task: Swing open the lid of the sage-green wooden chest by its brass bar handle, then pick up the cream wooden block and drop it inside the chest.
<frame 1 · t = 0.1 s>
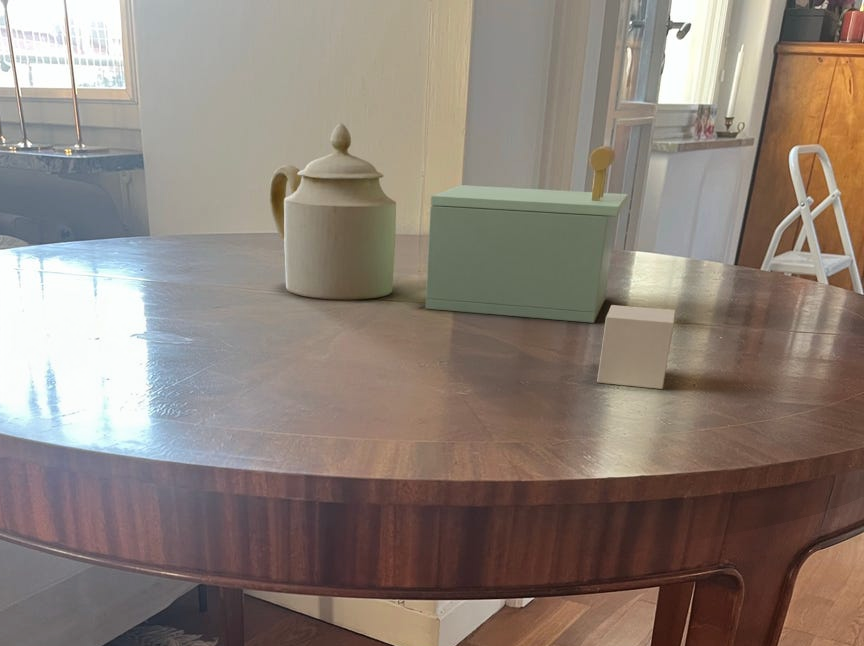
sugar bowl: (322, 290, 98), on the table
block: (631, 378, 70), on the table
chest: (518, 303, 94), on the table
chest lid: (535, 174, 88), point 11 cm above the table, hinge at 0.0°
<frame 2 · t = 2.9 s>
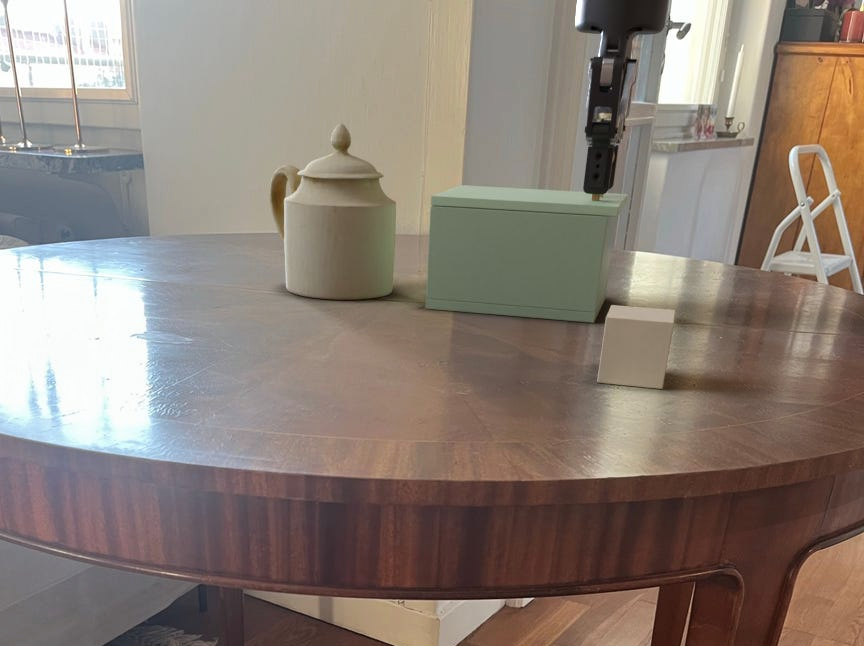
hand: (598, 190, 87), 10 cm above the table, tool pointing down, fingers closed on chest lid, 5 cm apart
chest lid: (535, 174, 88), point 11 cm above the table, hinge at 0.0°, touching gripper
everything else where it was.
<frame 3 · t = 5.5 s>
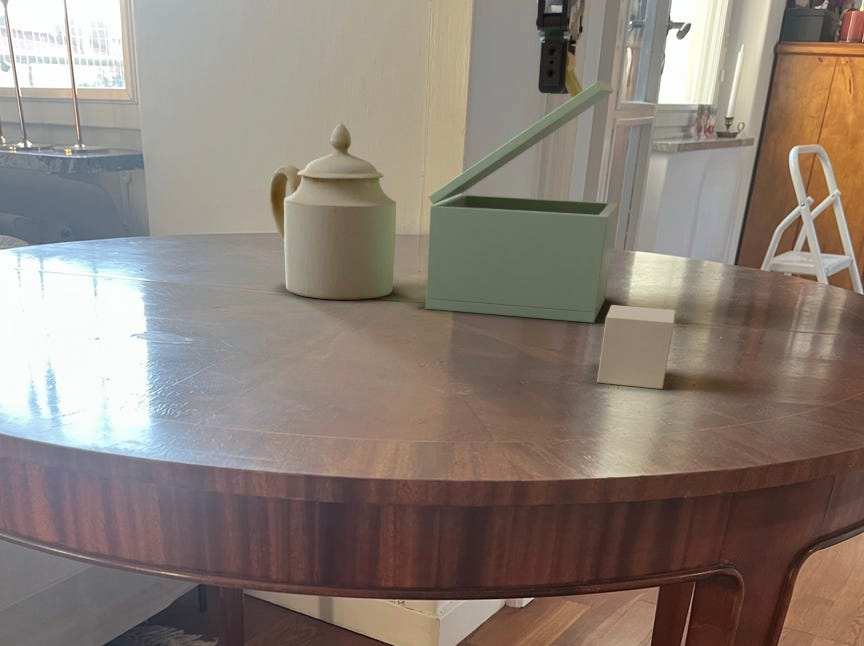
hand: (555, 92, 84), 18 cm above the table, tool pointing down, fingers closed on chest lid, 5 cm apart
chest lid: (511, 120, 86), point 16 cm above the table, hinge at 34.0°, touching gripper
everything else where it was.
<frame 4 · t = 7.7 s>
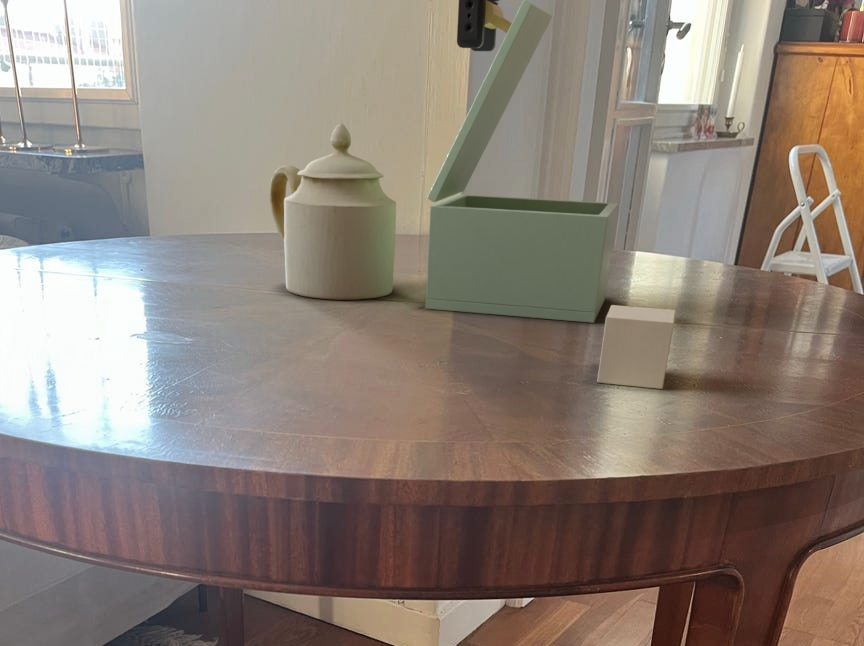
hand: (476, 48, 84), 21 cm above the table, tool pointing down, fingers closed on chest lid, 5 cm apart
chest lid: (470, 93, 86), point 18 cm above the table, hinge at 64.1°, touching gripper
everything else where it was.
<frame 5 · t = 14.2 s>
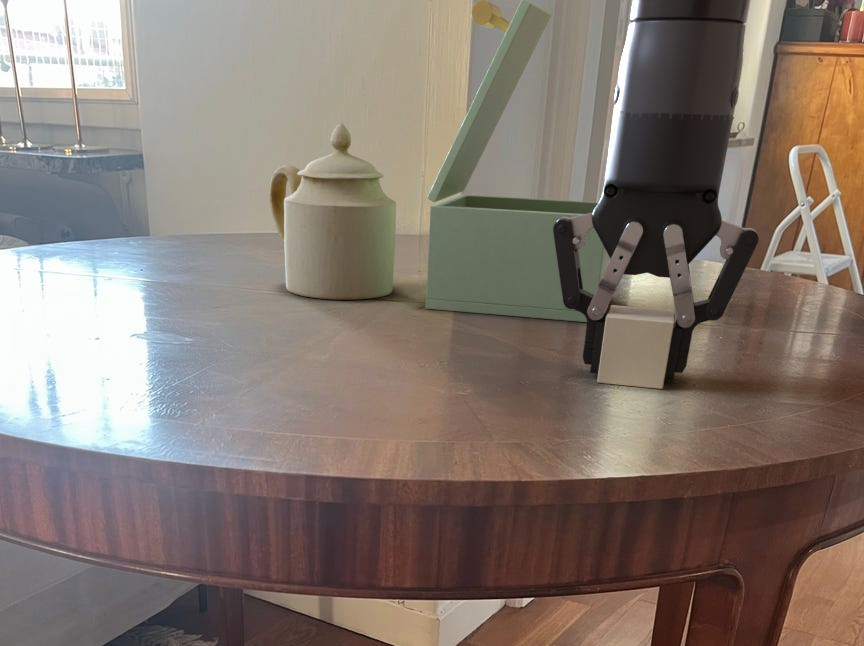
hand: (631, 373, 70), 0 cm above the table, tool pointing down, fingers closed on block, 4 cm apart
block: (631, 378, 70), on the table, touching gripper
chest lid: (469, 93, 86), point 18 cm above the table, hinge at 64.6°
everything else where it was.
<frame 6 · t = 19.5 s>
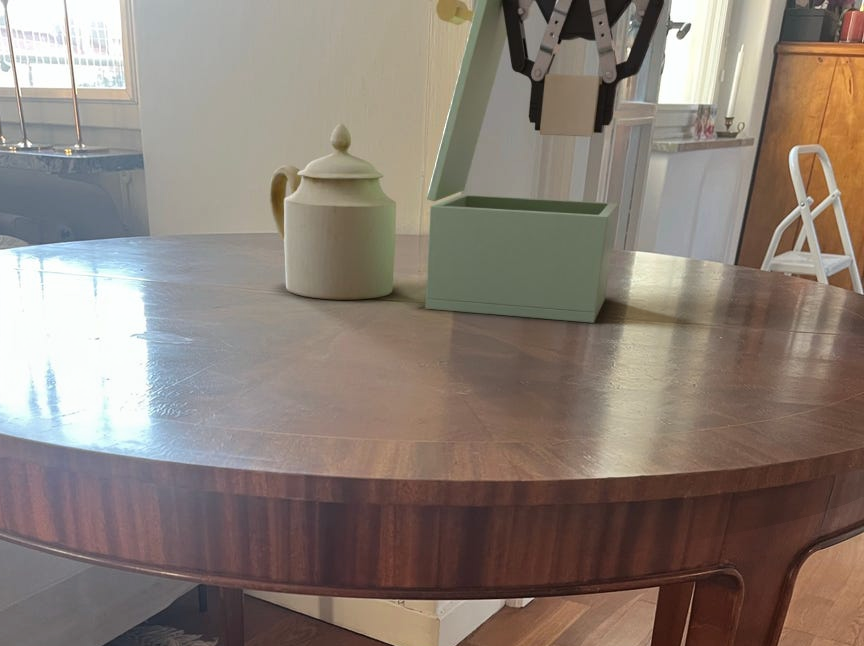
hand: (568, 130, 85), 15 cm above the table, tool pointing down, fingers closed on block, 4 cm apart
block: (568, 134, 86), point 15 cm above the table, touching gripper
chest lid: (450, 91, 86), point 18 cm above the table, hinge at 76.7°
everything else where it was.
when the fingers open (8 cm above the table, at t = 21.8 s): block drops 7 cm, resting on chest.
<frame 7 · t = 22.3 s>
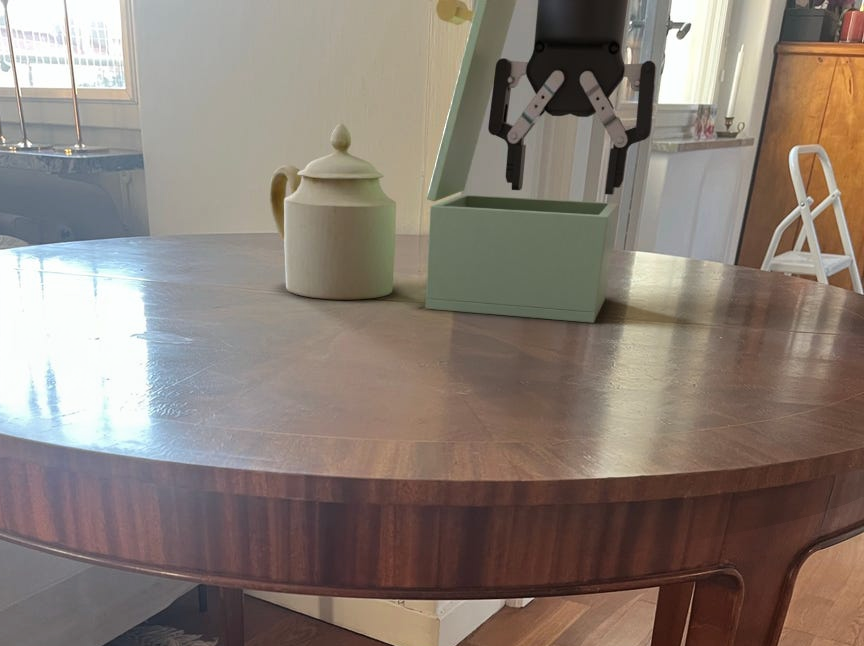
hand: (562, 191, 88), 10 cm above the table, tool pointing down, fingers open, 8 cm apart
block: (550, 296, 92), point 1 cm above the table, touching chest
everything else where it was.
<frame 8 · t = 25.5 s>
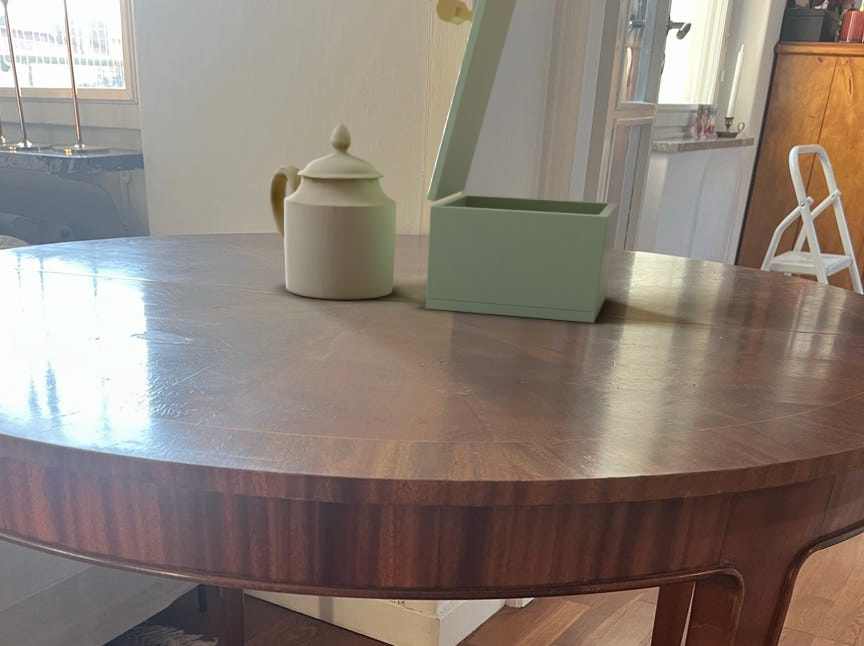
nothing on the table moved.
at the end: chest lid at +77° (first picture: +0°); block inside the target area in the chest (3.0 cm from its centre), point 0.9 cm above the chest's base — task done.
